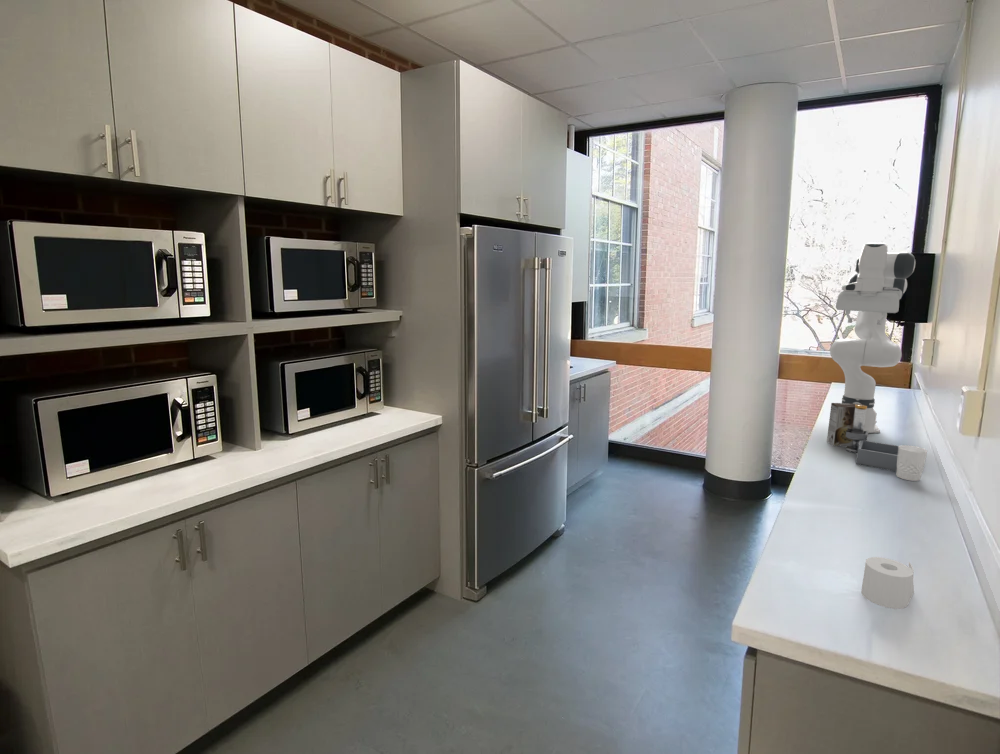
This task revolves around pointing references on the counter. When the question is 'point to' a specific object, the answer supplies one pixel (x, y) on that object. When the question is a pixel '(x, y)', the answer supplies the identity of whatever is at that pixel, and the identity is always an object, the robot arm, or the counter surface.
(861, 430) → the gold-capped metal cylinder
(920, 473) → the white cup
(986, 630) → the counter surface
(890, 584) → the toilet paper
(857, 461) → the bin
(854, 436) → the grey capsule holder
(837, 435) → the coffee box
